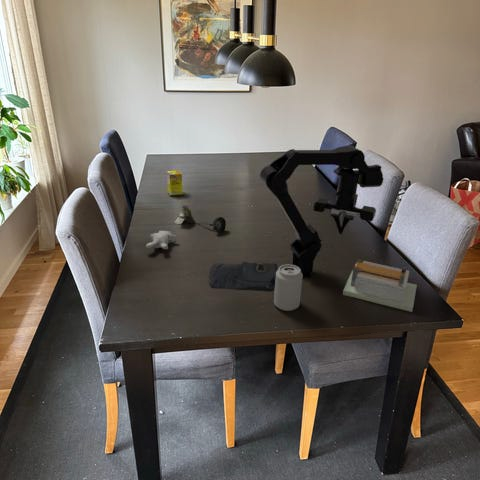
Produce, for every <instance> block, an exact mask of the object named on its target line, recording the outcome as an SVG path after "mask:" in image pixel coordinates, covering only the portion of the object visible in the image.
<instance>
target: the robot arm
mask: <svg viewBox="0 0 480 480" xmlns="http://www.w3.org/2000/svg"><path fill="white" fill-rule="evenodd" d="M365 159H366V156H365V153H364V152H363V151H362V150H361V149H358V148H356V147H355V146H352V145H343V146H339V147H336V148H334V149H288V150H287V151H286V152H285V153H284V154H283V155H281V156H279V157H278V158H276V159H275V160H273V161H272V162H271V163H270V164H268V165H266V166H264V167H263V168H262V169H261V171H260V174H259V177H260V178H259V179H260V181H261V182H262V183H263V184H264V185H265V187H267V188H268V190H269V191H270V192H271V193H272V194H273V195H274V197H275V199H277V202H278V203H279V205H280V207H281V209H282V210H283V212H284V214H285V216H286V217H287V219H288V221H289V222H290V224H291V226H292V227H293V229H294V233H295V238H296V239H294V241H293V242H292V243H290V245H289V247H290V250H291V251H292V255H291V256H292V257H291V264H290V265H295V266H297V267H299V268H300V269H301V273H302V274H303V277H304V278H311V277H312V273H313V271H314V270H313V269H314V260H315V259H316V257H317V255H318V253H319V252H320V251H321V249H322V246H323V245H322V244H323V243H322V242H323V239H321V238H320V236H319V233H318V231H317V230H316V229H315V228H314V227H313V226H312V225H311V224H310V223H309V224H308V225H307V223H306V221H305V220H304V219H303V216H302V214H301V213H300V212H299V209H298V207H297V206H296V204H295V202H294V199H293V198H292V197H291V194H290V193H289V187H288V183H287V180H289V179H290V178H291V177H292V175H293V174H294V172H295V170H296V169H297V168H298V167H299V166H317V165H318V166H323V165H324V166H329V165H330V166H332V165H333V166H338V167H337V168H334V170H333V173H334V174H335V175H337V176H338V177H339V179H338V184H337V189H336V191H335V195H334V197H335V198H336V199H335V200H336V201H335V203H331V199H328V198H324V197H323V198H322V197H319V198H317V200H315V202H314V203H313V207H312V208H313V209H312V210H313V211H314V212H319V213H323V212H325V210H326V209H327V210H331V213H330V217H333V219H334V223H335V225H336V227H337V231H338V234H339V235H343V233H344V231H345V229H346V227H347V226H348V223H350V221H354V220H355V218H356V216H357V215H358V216H359V218H360V220H362V221H366V222H374V219H375V216H376V213H377V209H376V207H374V206H373V207H372V206H367V205H363V206H362V208H360V207H359V208H358V207H356V206H357V201H358V196H359V194H357V190H358V185H359V186H360V188H377V187H381V186H382V184H384V183H383V182H384V175H383V171H382V166H381V165H379V164H371V165H368V163H367V162H366V161H365ZM344 213H345V215H344ZM343 215H344V217H343Z"/></svg>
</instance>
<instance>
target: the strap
mask: <svg viewBox="0 0 480 480" xmlns="http://www.w3.org/2000/svg"><path fill="white" fill-rule="evenodd" d="M354 267H358V270H362V271H367V272H371V273H375V274H379V275H384V276H388V277H392V278H396V279H400V275H404V276H405V273H404V272H400V271H396V270H391V269H387V268H383V267H378V266H374V265H369V264H365V263H363V262H362V261H361V262H357V261H356V262H355V265H354Z"/></svg>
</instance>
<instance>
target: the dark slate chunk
mask: <svg viewBox="0 0 480 480" xmlns="http://www.w3.org/2000/svg"><path fill="white" fill-rule="evenodd" d="M277 270H278V266H277V263H275V262H272V263H270V262H269V263H267V262H263V263H260V264H259V263H257V262H247V261H243V262H241V263H221V262H218V263H217V262H216V263H215V262H214V263H212V265H211V267H210V270H209V276H208V278H209V281H208V282H209V286H210V288H211V289H218V290H219V289H221V290H222V289H223V290H224V289H225V290H237V291H261V292H273V291H274V290H275V280H276V272H277Z"/></svg>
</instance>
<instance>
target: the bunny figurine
mask: <svg viewBox="0 0 480 480" xmlns="http://www.w3.org/2000/svg"><path fill="white" fill-rule="evenodd" d="M150 241H151V242H149V243H146V246H145V249H151V248H152V247H153V248H154V249H157V250H158V249H159V248H160V249H163V250H169V244H171V243H177V235H175V234H172V231H169V230H159V231H158V232H156V233H150Z"/></svg>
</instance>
